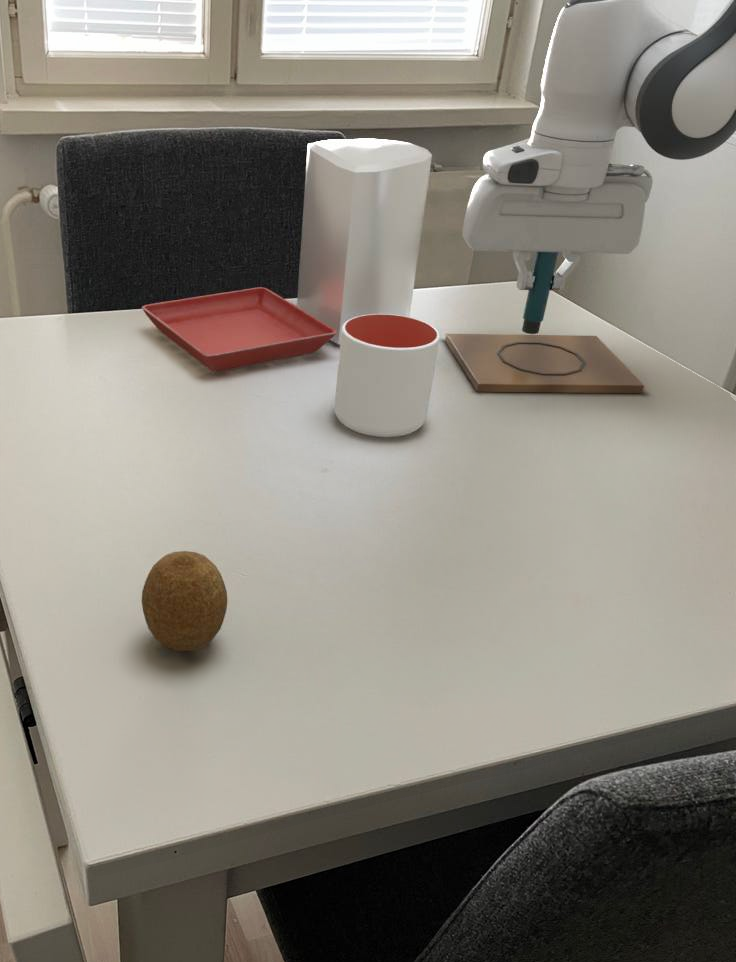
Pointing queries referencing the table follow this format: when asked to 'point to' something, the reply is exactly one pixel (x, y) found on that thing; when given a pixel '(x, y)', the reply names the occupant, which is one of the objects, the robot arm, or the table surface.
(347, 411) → the cup
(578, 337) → the pad
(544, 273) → the marker
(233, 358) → the plant saucer
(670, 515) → the table surface
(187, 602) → the fruit
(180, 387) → the table surface
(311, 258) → the silvery white canister
